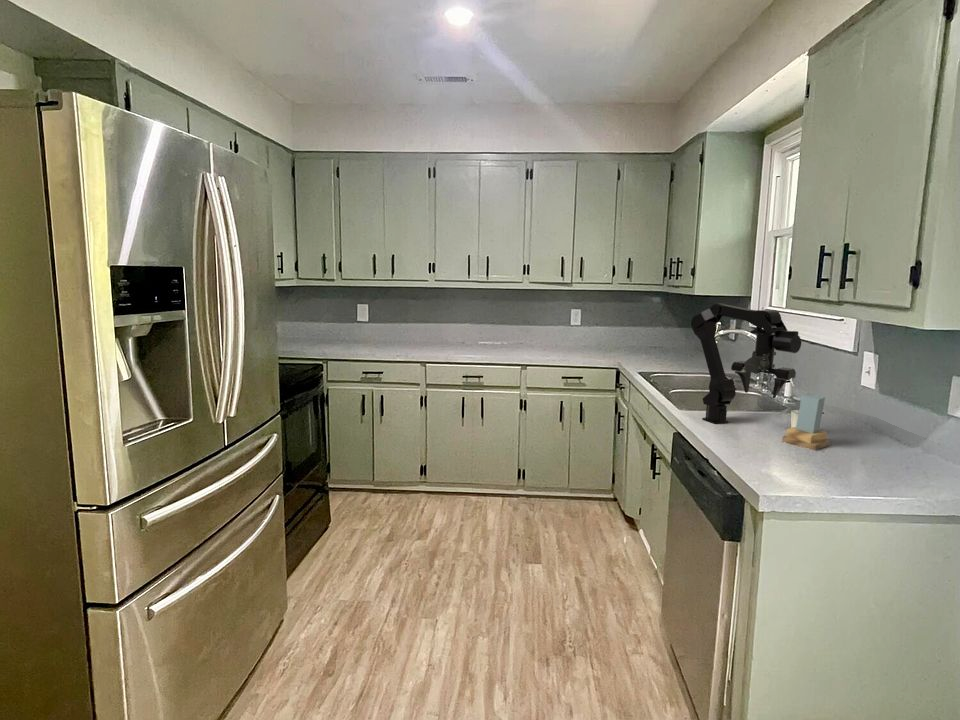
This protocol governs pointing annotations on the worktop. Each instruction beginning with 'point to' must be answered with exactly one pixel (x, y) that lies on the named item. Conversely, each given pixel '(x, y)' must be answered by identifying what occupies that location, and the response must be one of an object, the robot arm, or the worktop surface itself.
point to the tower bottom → (806, 445)
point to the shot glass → (794, 418)
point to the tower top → (806, 435)
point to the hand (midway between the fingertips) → (759, 395)
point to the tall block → (810, 413)
